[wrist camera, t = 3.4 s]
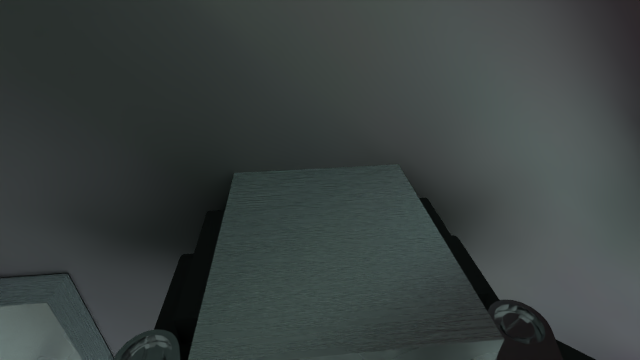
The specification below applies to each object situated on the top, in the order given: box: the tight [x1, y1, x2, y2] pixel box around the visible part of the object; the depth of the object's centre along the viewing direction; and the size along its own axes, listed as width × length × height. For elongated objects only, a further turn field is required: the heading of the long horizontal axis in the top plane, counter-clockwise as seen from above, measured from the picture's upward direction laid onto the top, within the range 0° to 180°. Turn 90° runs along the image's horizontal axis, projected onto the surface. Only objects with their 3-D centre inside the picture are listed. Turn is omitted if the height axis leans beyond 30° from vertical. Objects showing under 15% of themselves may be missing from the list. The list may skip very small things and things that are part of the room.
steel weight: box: [188, 164, 504, 360], centre depth 9 cm, size 5×5×6 cm
